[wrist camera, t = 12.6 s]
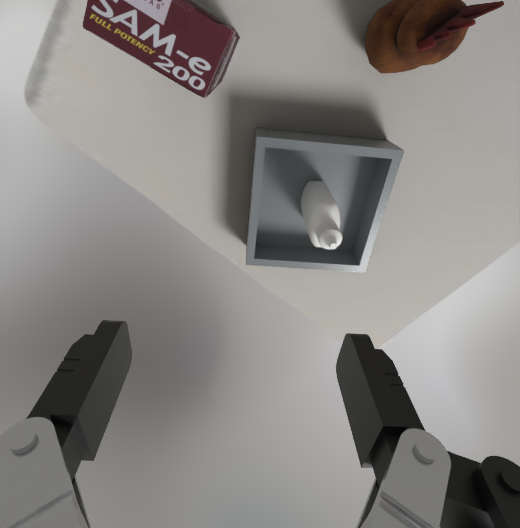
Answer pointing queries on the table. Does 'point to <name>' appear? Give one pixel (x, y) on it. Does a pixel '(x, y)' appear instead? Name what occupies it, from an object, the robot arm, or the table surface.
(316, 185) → the eye dropper bottle
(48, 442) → the robot arm
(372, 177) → the box
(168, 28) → the supplement box
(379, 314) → the table surface
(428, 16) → the wooden figurine
